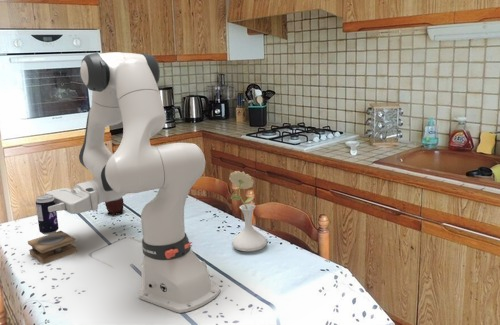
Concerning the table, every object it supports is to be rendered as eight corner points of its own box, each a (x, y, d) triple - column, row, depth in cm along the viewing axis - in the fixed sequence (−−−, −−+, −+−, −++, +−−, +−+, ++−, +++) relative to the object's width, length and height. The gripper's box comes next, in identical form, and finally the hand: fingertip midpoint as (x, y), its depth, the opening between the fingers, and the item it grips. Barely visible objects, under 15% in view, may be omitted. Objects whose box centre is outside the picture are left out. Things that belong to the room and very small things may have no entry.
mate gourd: (121, 216, 178) (117, 180, 174) (102, 217, 178) (96, 180, 174) (127, 209, 185) (122, 174, 181) (108, 210, 185) (103, 175, 182)
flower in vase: (274, 245, 145) (271, 170, 139) (250, 258, 137) (246, 179, 131) (245, 235, 154) (241, 164, 148) (221, 247, 146) (215, 172, 140)
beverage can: (52, 235, 143) (47, 199, 140) (36, 235, 144) (31, 199, 141) (62, 229, 148) (58, 194, 146) (46, 228, 149) (41, 193, 147)
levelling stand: (77, 251, 148) (75, 237, 147) (43, 264, 141) (41, 249, 139) (62, 242, 156) (60, 229, 154) (30, 254, 148) (27, 240, 147)
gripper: (69, 181, 159) (28, 191, 150) (97, 192, 145) (55, 204, 136) (71, 198, 161) (32, 209, 151) (100, 210, 147) (58, 223, 137)
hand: (43, 207), depth 143 cm, fingers closed on beverage can, 6 cm apart
